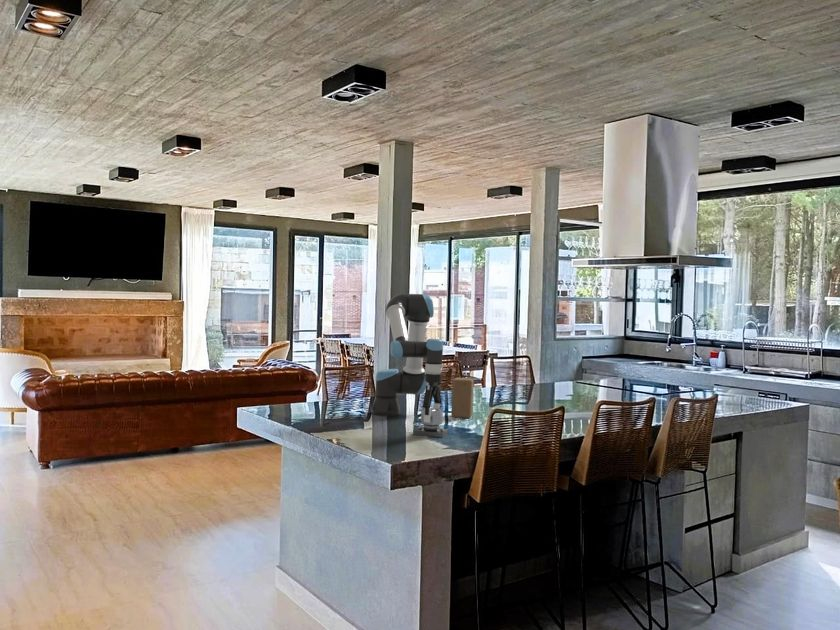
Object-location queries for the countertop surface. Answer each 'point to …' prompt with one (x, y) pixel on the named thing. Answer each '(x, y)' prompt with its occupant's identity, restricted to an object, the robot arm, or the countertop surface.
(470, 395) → the wooden block
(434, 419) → the hub
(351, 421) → the countertop surface
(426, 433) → the shaft stand
